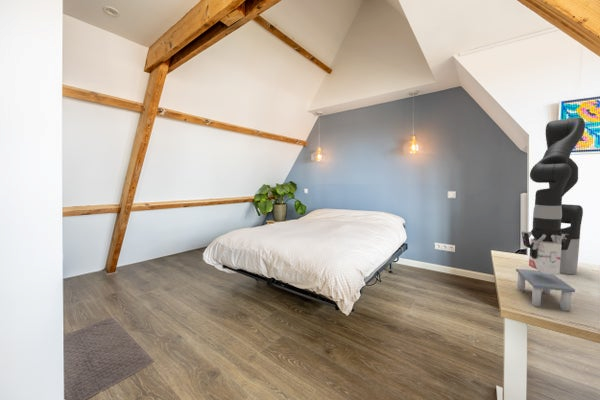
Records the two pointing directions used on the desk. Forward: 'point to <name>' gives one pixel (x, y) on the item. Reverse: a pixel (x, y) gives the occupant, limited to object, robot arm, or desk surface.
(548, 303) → the desk surface
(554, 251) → the ink cartridge box
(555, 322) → the desk surface
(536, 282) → the grey toy table
